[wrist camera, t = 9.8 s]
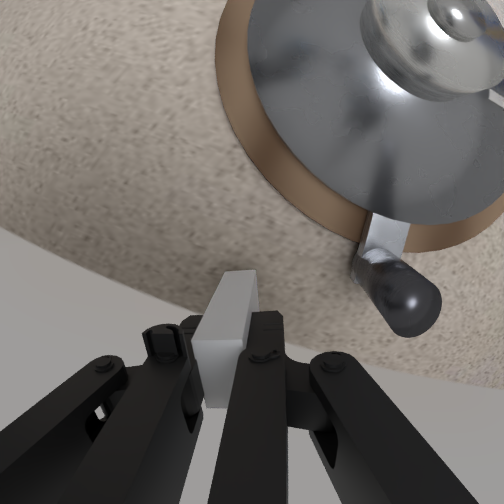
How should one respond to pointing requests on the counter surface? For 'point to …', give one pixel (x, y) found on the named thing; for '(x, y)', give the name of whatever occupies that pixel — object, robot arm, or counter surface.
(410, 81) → the cover
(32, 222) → the counter surface
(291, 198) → the base
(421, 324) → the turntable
